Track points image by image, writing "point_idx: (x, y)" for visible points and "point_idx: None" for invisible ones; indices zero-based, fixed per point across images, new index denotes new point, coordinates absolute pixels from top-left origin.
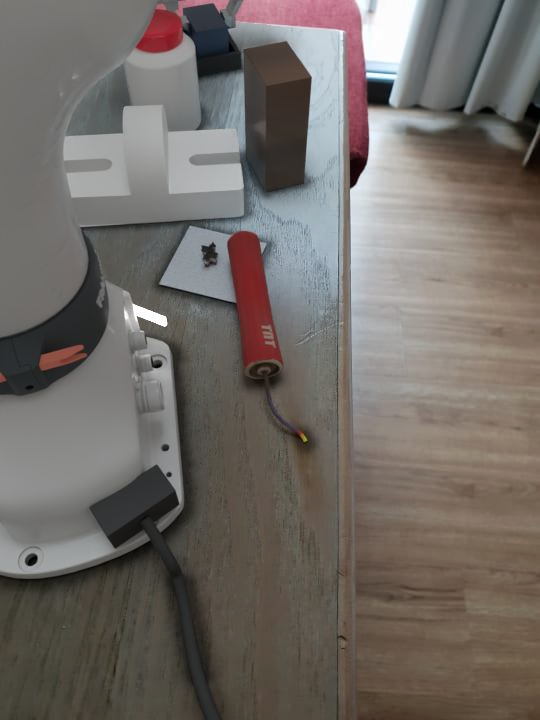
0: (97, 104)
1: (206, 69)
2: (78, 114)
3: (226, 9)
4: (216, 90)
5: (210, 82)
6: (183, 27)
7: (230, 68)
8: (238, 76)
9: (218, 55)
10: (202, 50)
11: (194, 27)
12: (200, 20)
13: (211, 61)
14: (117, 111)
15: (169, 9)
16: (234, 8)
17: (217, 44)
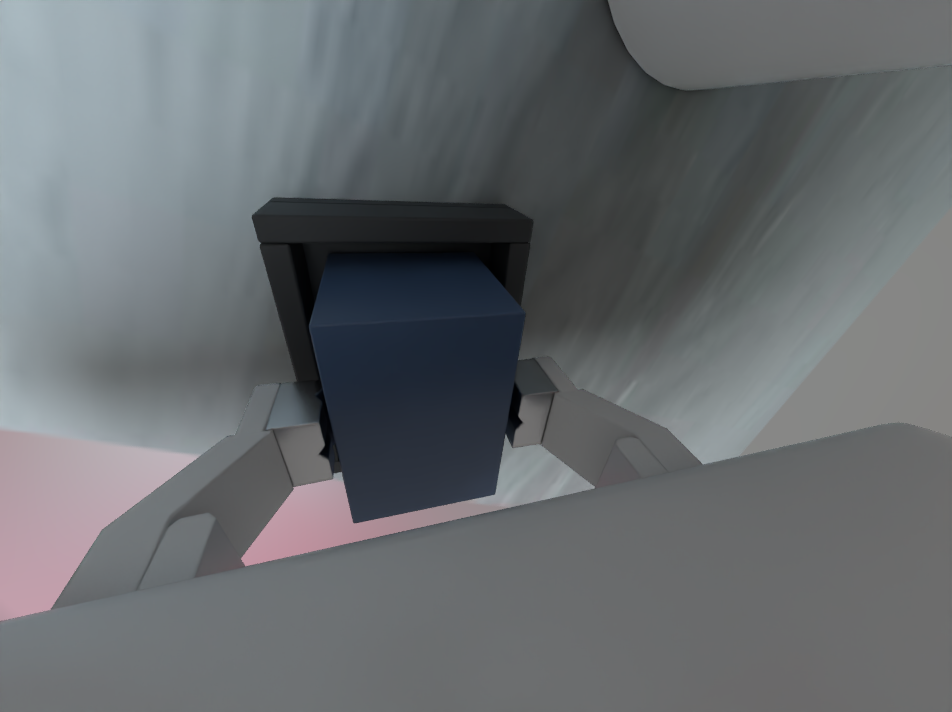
0: (812, 169)
1: (453, 207)
2: (878, 136)
3: (292, 480)
4: (442, 49)
5: (448, 142)
6: (546, 379)
7: (332, 200)
8: (298, 137)
9: (392, 233)
10: (468, 271)
11: (513, 358)
12: (460, 410)
13: (433, 213)
14: (811, 93)
15: (664, 438)
16: (228, 464)
17: (389, 280)
